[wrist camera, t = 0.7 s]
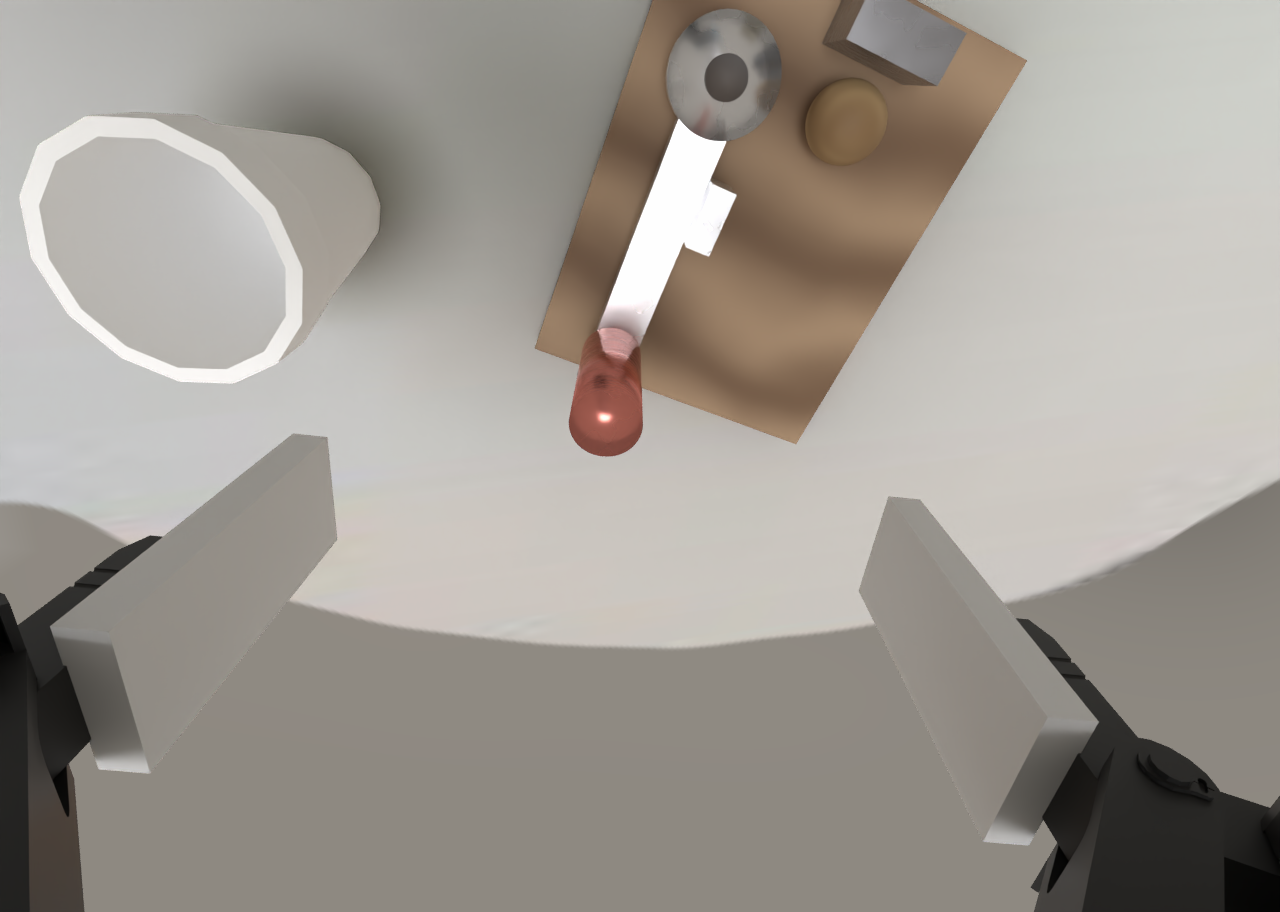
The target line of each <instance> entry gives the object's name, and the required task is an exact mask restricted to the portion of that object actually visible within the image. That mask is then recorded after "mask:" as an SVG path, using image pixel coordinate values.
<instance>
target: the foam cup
mask: <svg viewBox="0 0 1280 912" xmlns="http://www.w3.org/2000/svg"><path fill="white" fill-rule="evenodd" d="M19 199H20V204H21V209H22V214H23V219H24V224H25V229H26V234H27V239H28V244H29V249H30V254H31V258H32V260H33V261H34V263H35V264H36V266H37V267H38V269H39V271H40V272H41V274H42V275H43V277H44V278H45V280H46V281H47V283H48V284H49V286H50V287H51V289H52V290H53V292H54V293H55V295H56V297H57V298H58V300H59V301H60V303H61V304H62V306H63V307H64V309H65V310H66V312H67V313H68V315H69V316H70V317H72V318H73V319H74V320H75V321H77V322H78V323H79V324H80V325H81V326H83V327H84V328H85V329H86V330H88V331H89V332H90V333H91V334H92V335H94V336H95V337H96V338H97V339H99V340H100V341H101V342H102V343H103V344H105V345H106V346H107V347H108V348H110V349H111V350H112V351H113V352H114V353H116V354H117V355H118V356H119V357H121V358H122V359H125V360H127V361H130V362H132V363H135V364H137V365H140V366H142V367H145V368H147V369H149V370H152V371H154V372H157V373H159V374H162V375H164V376H167V377H169V378H172V379H174V380H176V381H179V382H206V383H236V382H238V381H240V380H242V379H245V378H247V377H249V376H251V375H253V374H255V373H258V372H260V371H262V370H264V369H266V368H268V367H271V366H273V365H275V364H277V363H278V362H280V361H281V360H282V359H283V358H285V357H286V356H287V355H288V354H290V353H291V352H292V351H293V350H295V349H296V348H297V347H298V346H300V345H301V344H302V343H303V342H304V341H305V339H306V338H307V336H308V335H309V333H310V332H311V330H312V328H313V327H314V325H315V324H316V322H317V321H318V319H319V317H320V316H321V314H322V313H323V311H324V310H325V308H326V306H327V305H328V301H329V300H330V299H331V297H332V296H333V295H334V293H335V292H336V291H337V289H338V288H339V287H340V285H341V284H342V283H343V282H344V280H345V279H346V278H347V276H348V275H349V274H350V272H351V271H352V270H353V268H354V267H355V266H356V265H357V263H358V262H359V261H360V259H361V258H362V257H363V255H364V254H365V252H366V251H367V249H368V248H369V246H370V245H371V243H372V241H373V240H374V238H375V237H376V235H377V234H378V232H379V223H380V208H381V204H380V202H379V199H378V196H377V193H376V191H375V188H374V185H373V182H372V180H371V177H370V176H369V174H368V173H367V172H366V171H365V170H364V169H363V168H362V166H361V165H360V164H359V163H358V162H357V161H356V160H355V158H354V157H353V156H352V155H351V154H350V153H349V152H347V151H345V150H343V149H342V148H340V147H338V146H336V145H334V144H332V143H330V142H328V141H326V140H324V139H322V138H317V137H312V136H305V135H297V134H290V133H282V132H275V131H267V130H260V129H252V128H245V127H237V126H230V125H222V124H215V123H211V122H209V121H207V120H205V119H203V118H201V117H199V116H197V115H185V114H163V113H142V112H131V113H117V114H103V115H89V116H85V117H83V118H82V119H80V120H78V121H77V122H75V123H73V124H72V125H70V126H68V127H67V128H65V129H63V130H62V131H60V132H58V133H57V134H55V135H53V136H52V137H50V138H48V139H46V140H45V141H43V142H41V143H40V144H38V146H37V148H36V151H35V154H34V157H33V159H32V162H31V165H30V168H29V171H28V173H27V176H26V179H25V182H24V184H23V187H22V190H21V193H20V195H19Z"/></svg>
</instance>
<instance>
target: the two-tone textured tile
mask: <svg viewBox="0 0 1280 912" xmlns="http://www.w3.org/2000/svg"><path fill="white" fill-rule="evenodd" d="M966 34H967V33H966V32H964V31H962V30H960V29H958V28H956V27H955V26H953V25H951V24H949V23H947V22H945V21H943V20H942V19H940V18H938V17H936V16H934V15H932V14H930V13H929V12H927V11H925V10H923V9H921V8H919V7H918V6H916V5H914V4H912V3H910V2H908V1H906V0H841V3H840V5H839V7H838V9H837V11H836V13H835V16H834V18H833V20H832V22H831V24H830V26H829V29H828V31H827V33H826V35H825V37H824V40H823V42H822V44H823V45H825V46H827V47H829V48H831V49H833V50H835V51H837V52H839V53H841V54H843V55H845V56H847V57H849V58H851V59H853V60H855V61H857V62H859V63H861V64H863V65H865V66H867V67H869V68H871V69H872V70H874V71H876V72H878V73H880V74H882V75H884V76H886V77H888V78H890V79H892V80H894V81H896V82H898V83H900V84H902V85H917V86H938V84H939V83H940V81H941V79H942V77H943V75H944V74H945V72H946V70H947V68H948V66H949V64H950V63H951V61H952V59H953V57H954V55H955V54H956V52H957V50H958V48H959V46H960V45H961V43H962V41H963V39H964V37H965V35H966Z"/></svg>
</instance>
